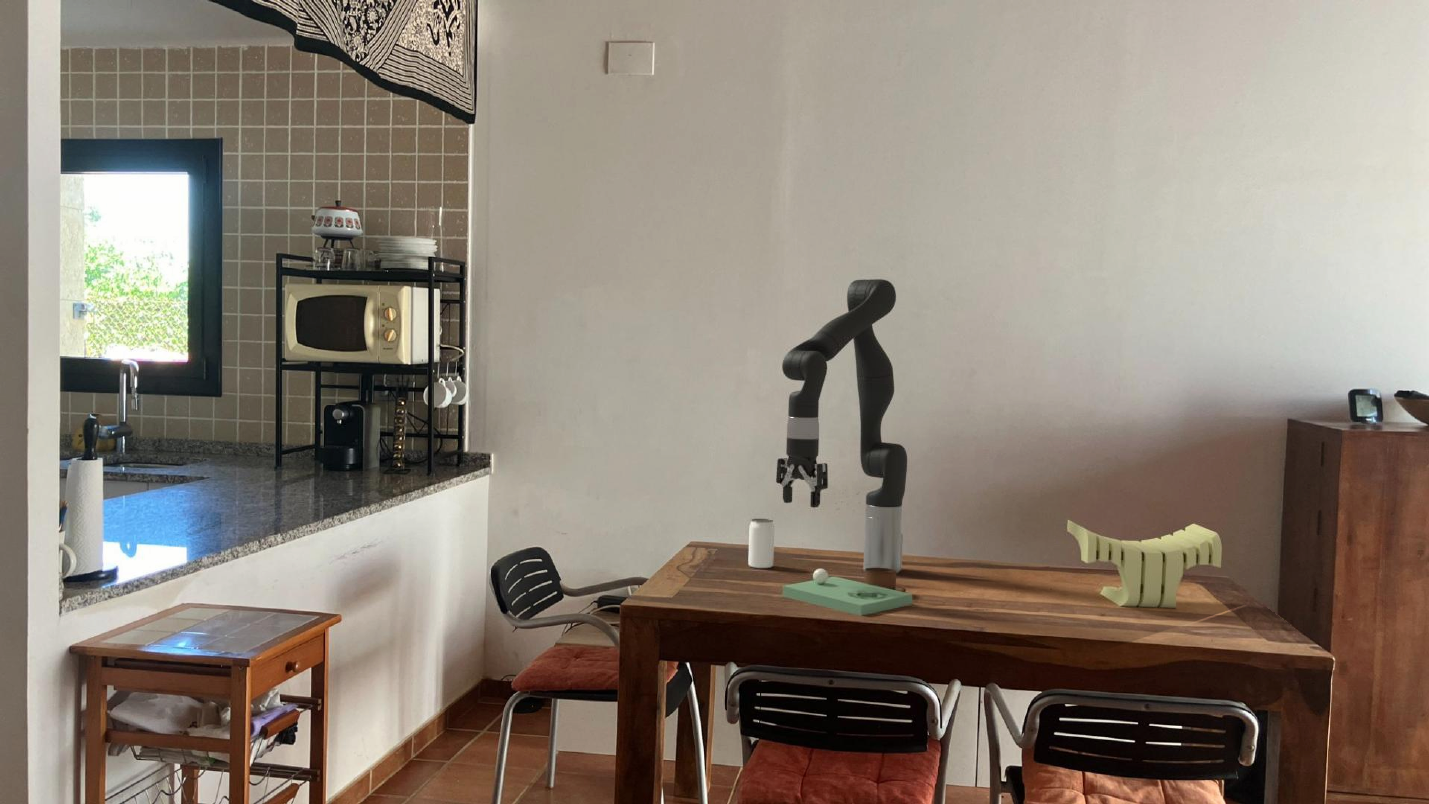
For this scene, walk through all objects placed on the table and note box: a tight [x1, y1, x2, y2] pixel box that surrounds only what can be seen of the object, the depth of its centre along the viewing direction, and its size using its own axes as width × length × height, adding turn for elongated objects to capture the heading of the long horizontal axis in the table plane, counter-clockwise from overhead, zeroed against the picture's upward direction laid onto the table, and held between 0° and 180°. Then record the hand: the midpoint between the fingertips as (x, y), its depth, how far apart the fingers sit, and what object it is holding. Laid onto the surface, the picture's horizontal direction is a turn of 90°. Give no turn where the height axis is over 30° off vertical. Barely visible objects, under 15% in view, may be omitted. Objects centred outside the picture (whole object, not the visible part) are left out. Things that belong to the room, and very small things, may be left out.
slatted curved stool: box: [1066, 519, 1223, 609], centre depth 260 cm, size 30×16×18 cm, turn 89°
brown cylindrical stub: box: [864, 568, 907, 593], centre depth 261 cm, size 12×12×6 cm
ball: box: [812, 568, 829, 584], centre depth 258 cm, size 4×4×4 cm
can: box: [747, 518, 775, 569], centre depth 289 cm, size 6×6×12 cm
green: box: [781, 576, 914, 617], centre depth 252 cm, size 23×18×2 cm
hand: (801, 504), depth 262 cm, fingers open, 8 cm apart
